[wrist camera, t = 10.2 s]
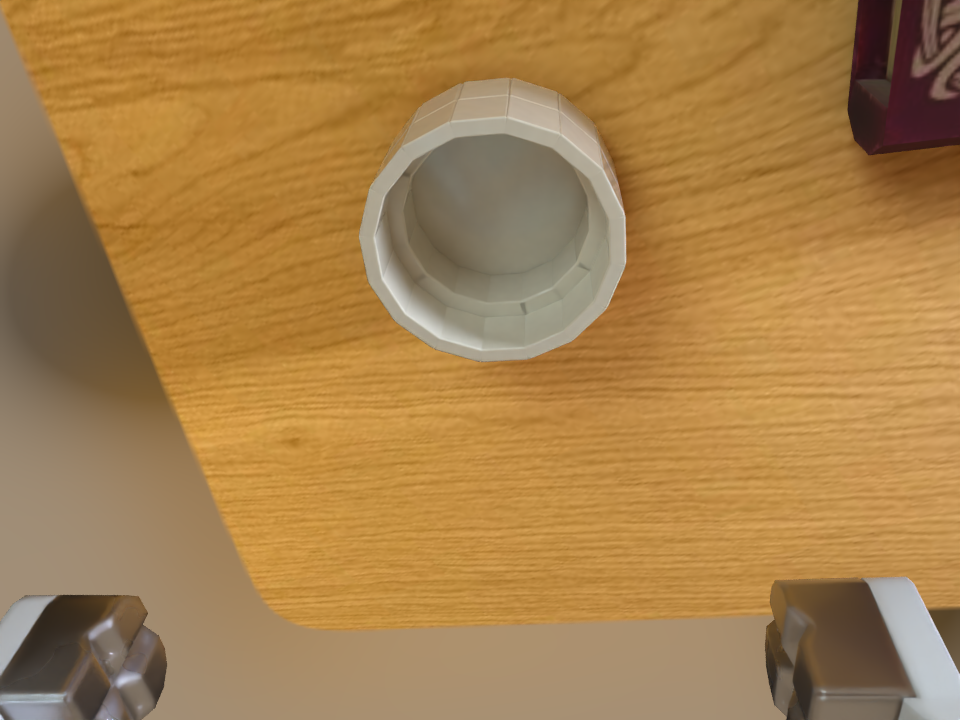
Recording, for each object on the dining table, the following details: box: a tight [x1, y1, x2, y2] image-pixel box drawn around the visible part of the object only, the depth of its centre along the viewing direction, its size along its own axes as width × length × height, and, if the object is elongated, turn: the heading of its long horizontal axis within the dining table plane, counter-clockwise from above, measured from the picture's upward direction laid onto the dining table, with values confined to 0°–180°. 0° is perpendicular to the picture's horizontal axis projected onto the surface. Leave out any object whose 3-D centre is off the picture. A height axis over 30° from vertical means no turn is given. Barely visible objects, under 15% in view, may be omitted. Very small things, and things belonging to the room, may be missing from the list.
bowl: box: [359, 78, 626, 362], centre depth 21 cm, size 6×6×4 cm
